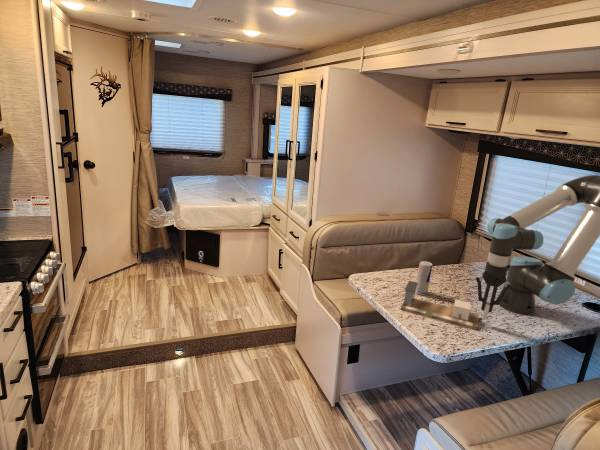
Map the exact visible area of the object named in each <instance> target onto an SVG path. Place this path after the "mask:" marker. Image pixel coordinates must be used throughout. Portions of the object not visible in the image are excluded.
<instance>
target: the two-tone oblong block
mask: <svg viewBox="0 0 600 450" xmlns="http://www.w3.org/2000/svg"><path fill="white" fill-rule="evenodd" d="M417 285H418V283H417V282H416V281H412V280H408V282H407V284H406V286H405V288H404V291H405V293H404V299H403V302H404V304H403V303H402V304H403V305H404V306H409V307H411V305H412V303H413V300H414V298H415V296H416V292H415V291H416V287H417Z"/></svg>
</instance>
